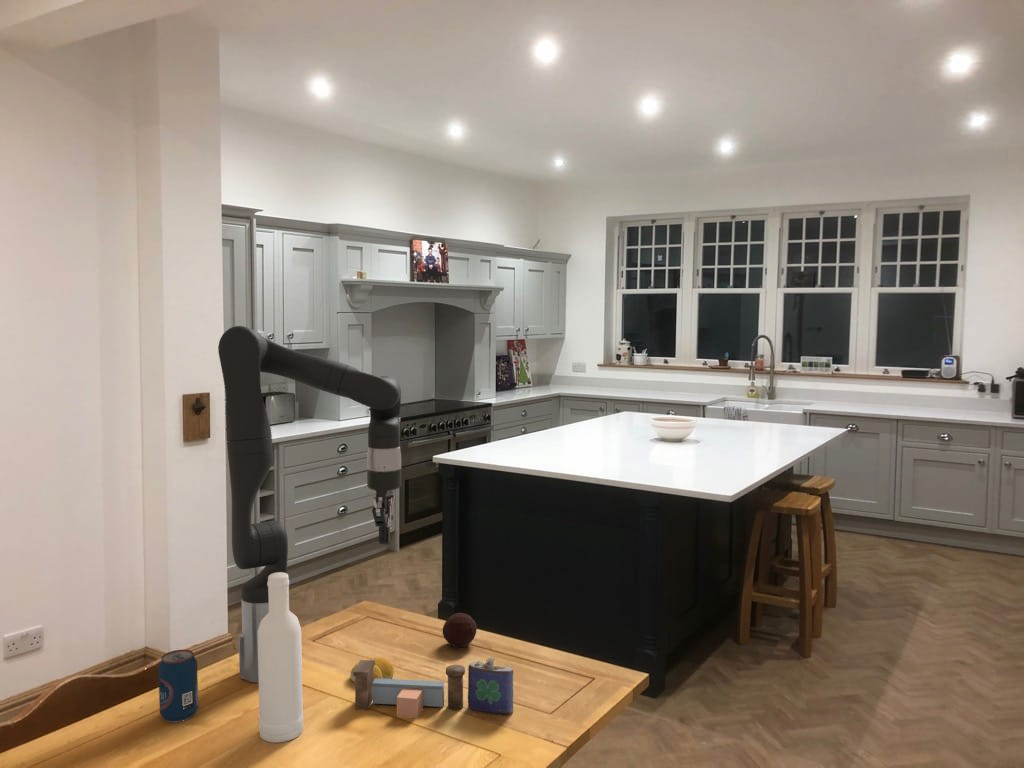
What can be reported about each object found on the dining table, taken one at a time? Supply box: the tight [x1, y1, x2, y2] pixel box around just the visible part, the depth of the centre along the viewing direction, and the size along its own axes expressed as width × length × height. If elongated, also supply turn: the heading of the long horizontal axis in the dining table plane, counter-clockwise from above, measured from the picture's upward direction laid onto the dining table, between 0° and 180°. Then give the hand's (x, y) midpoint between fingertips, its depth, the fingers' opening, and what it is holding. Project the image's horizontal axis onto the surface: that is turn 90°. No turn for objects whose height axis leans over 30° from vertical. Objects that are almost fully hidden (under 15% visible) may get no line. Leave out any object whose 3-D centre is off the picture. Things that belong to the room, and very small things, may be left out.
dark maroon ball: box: [442, 612, 478, 648], centre depth 190 cm, size 8×9×8 cm
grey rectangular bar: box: [372, 678, 445, 708], centre depth 161 cm, size 14×2×4 cm, turn 84°
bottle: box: [257, 572, 304, 744], centre depth 149 cm, size 8×8×30 cm
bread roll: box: [350, 657, 395, 683], centre depth 174 cm, size 8×9×4 cm
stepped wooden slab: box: [353, 659, 375, 711], centre depth 161 cm, size 3×6×8 cm, turn 176°
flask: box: [467, 656, 514, 716], centre depth 158 cm, size 9×3×11 cm, turn 74°
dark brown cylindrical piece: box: [445, 664, 466, 712], centre depth 160 cm, size 4×4×8 cm
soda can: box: [158, 649, 199, 723], centre depth 156 cm, size 7×7×12 cm
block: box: [396, 688, 424, 719], centre depth 158 cm, size 4×4×4 cm
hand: (384, 542), depth 181 cm, fingers closed
